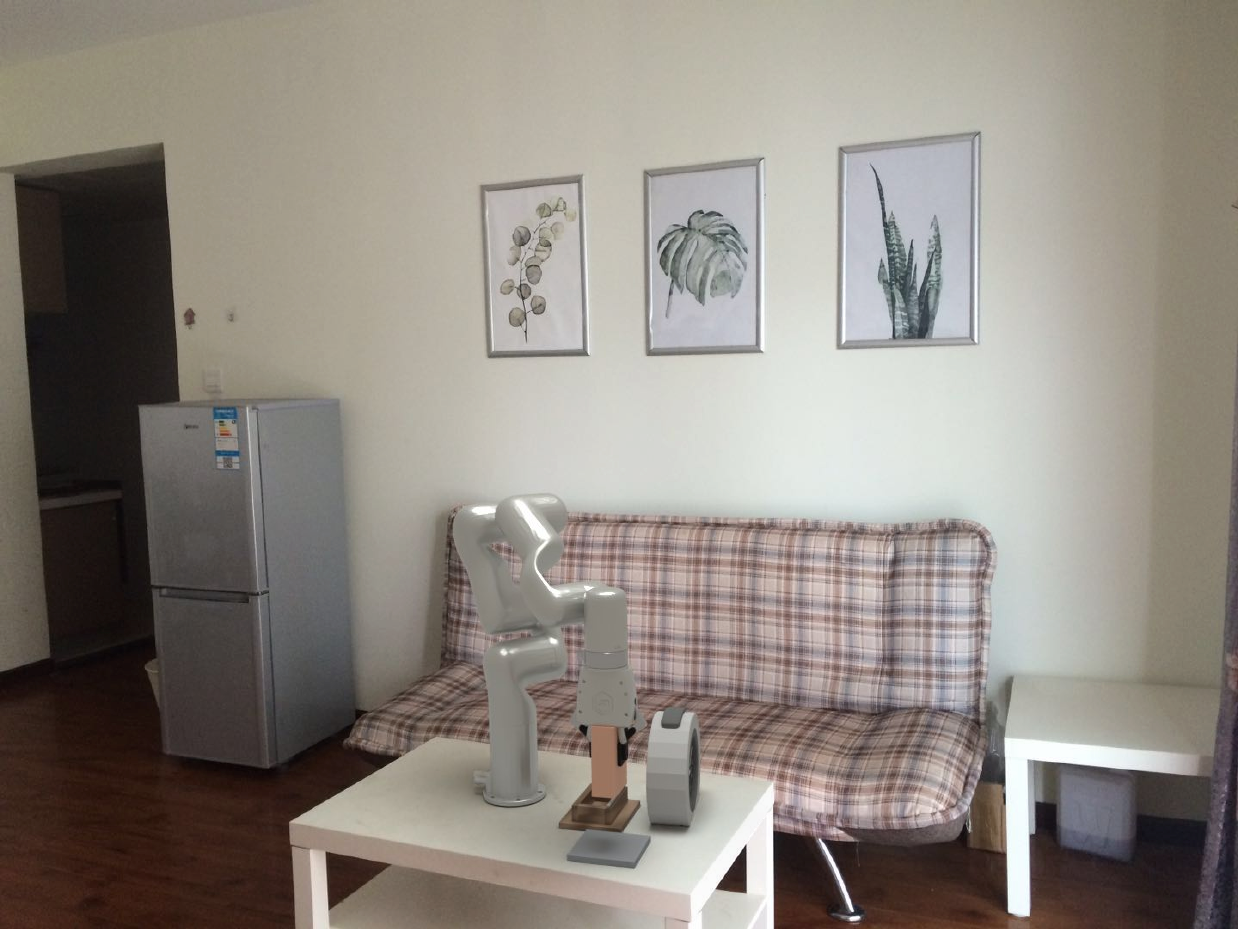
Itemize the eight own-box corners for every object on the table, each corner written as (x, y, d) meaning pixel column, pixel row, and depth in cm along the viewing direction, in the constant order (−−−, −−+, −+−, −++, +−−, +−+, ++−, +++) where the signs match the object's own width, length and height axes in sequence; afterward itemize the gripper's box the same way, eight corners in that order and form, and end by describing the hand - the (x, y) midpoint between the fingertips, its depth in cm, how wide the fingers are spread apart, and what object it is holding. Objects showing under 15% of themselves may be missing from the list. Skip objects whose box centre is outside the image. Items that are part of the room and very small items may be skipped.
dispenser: (558, 828, 184) (558, 803, 184) (582, 800, 198) (581, 776, 197) (620, 834, 181) (620, 809, 181) (640, 805, 194) (640, 782, 194)
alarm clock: (687, 835, 180) (685, 727, 179) (646, 832, 182) (644, 725, 181) (701, 791, 201) (699, 695, 200) (664, 789, 202) (663, 693, 202)
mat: (567, 860, 170) (567, 855, 170) (586, 834, 181) (586, 829, 181) (634, 868, 167) (634, 862, 167) (650, 841, 178) (650, 836, 178)
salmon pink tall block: (591, 796, 170) (590, 726, 170) (605, 782, 178) (604, 715, 178) (614, 798, 169) (613, 728, 169) (626, 783, 177) (626, 716, 177)
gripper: (553, 662, 171) (556, 766, 172) (647, 666, 167) (650, 774, 167) (568, 652, 178) (570, 753, 179) (658, 656, 174) (660, 759, 174)
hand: (608, 762), depth 173 cm, fingers closed on salmon pink tall block, 4 cm apart
